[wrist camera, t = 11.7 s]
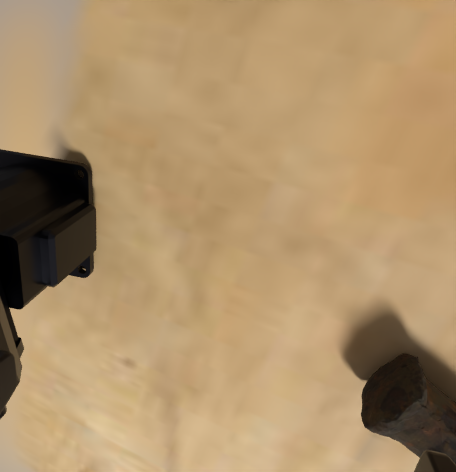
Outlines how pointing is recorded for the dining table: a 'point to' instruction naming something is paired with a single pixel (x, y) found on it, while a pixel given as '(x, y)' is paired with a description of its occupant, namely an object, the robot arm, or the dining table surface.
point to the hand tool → (409, 408)
